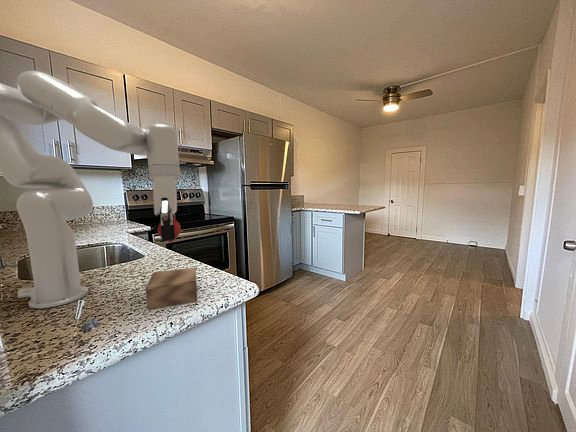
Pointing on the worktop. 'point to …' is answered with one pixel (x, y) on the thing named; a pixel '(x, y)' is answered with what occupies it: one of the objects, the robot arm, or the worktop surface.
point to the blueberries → (89, 325)
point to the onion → (176, 228)
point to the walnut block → (171, 288)
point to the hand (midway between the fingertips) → (169, 236)
